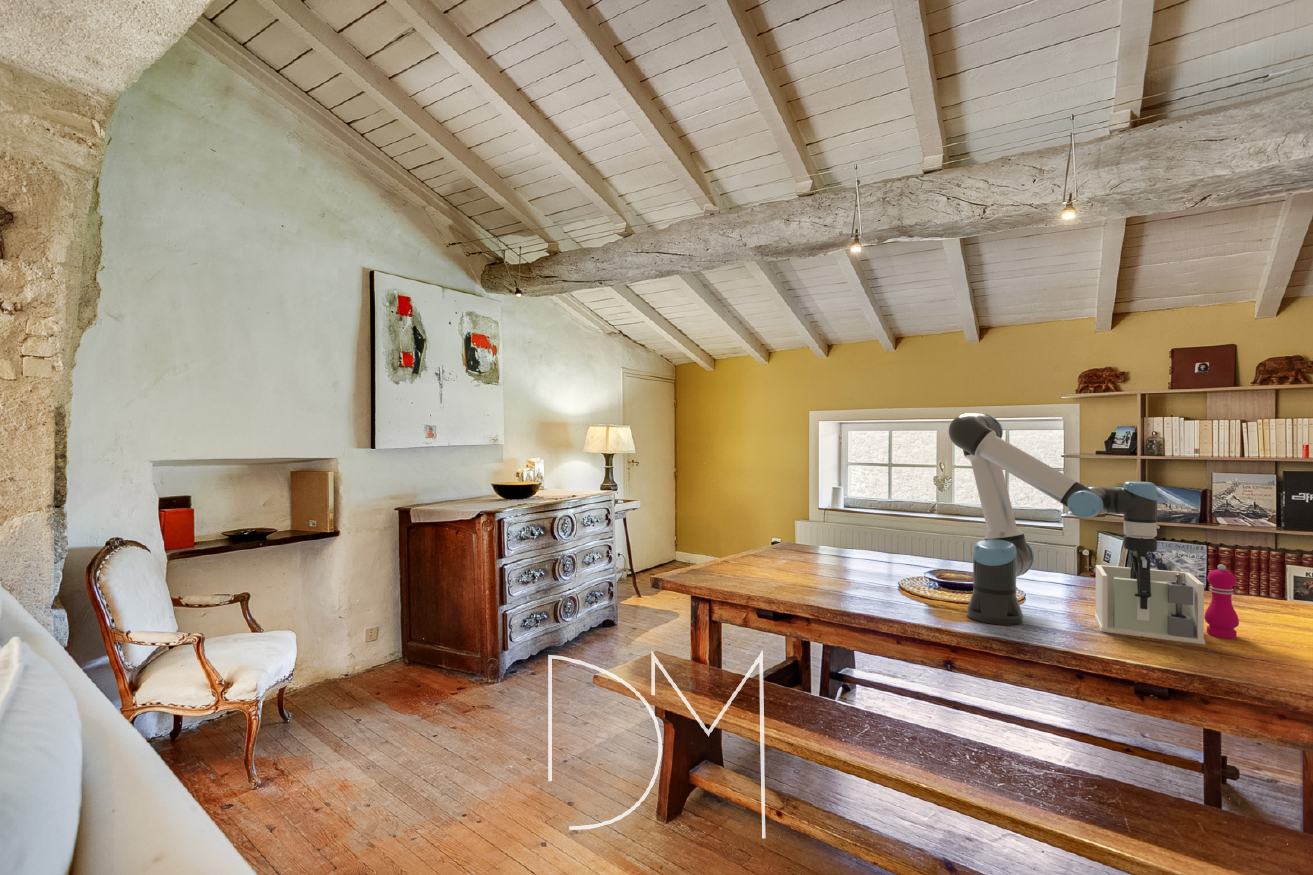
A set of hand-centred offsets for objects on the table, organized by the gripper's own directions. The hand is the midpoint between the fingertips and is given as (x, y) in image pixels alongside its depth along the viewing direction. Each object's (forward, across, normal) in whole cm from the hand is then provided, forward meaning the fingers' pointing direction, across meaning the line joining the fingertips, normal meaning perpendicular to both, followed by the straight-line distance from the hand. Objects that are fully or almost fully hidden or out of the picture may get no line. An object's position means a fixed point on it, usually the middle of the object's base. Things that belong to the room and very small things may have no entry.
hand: (1140, 615), depth 177 cm
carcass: (+5, +5, -2) cm, 7 cm away
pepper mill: (+5, +9, -20) cm, 22 cm away
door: (+4, 0, -3) cm, 5 cm away
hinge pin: (+4, 0, -9) cm, 9 cm away
